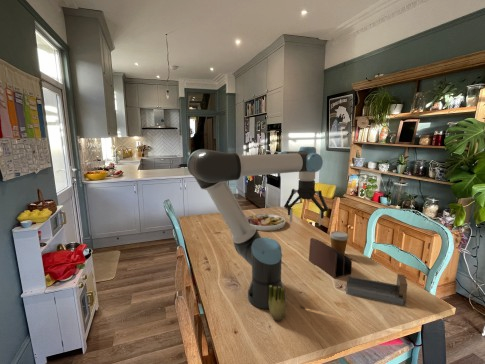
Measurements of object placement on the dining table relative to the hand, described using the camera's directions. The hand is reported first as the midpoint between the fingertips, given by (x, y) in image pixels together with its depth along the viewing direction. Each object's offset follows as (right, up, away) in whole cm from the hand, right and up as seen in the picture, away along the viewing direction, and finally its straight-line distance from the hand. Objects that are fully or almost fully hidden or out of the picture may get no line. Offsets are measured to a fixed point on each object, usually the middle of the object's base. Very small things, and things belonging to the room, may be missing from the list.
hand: (305, 223), depth 124 cm
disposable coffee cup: (+22, -20, +17) cm, 35 cm away
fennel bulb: (-18, -29, -31) cm, 46 cm away
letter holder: (+12, -23, +3) cm, 26 cm away
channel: (+24, -26, -19) cm, 40 cm away
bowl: (-14, -13, +67) cm, 69 cm away
